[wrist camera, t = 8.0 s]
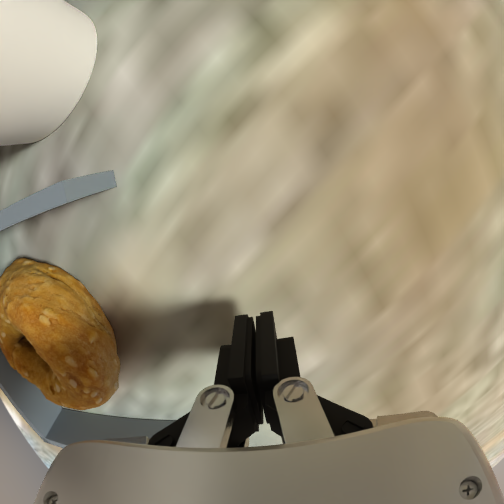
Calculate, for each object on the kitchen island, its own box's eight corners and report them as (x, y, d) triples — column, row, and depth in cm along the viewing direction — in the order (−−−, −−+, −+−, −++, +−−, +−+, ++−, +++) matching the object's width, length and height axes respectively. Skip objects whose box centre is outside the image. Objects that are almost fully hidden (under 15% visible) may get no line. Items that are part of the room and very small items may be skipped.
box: (-29, 234, 13) (-65, 252, 9) (112, 170, 12) (62, 180, 8) (61, 412, 18) (44, 441, 15) (207, 426, 17) (200, 471, 14)
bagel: (4, 226, 13) (-47, 251, 8) (143, 293, 14) (105, 349, 9) (13, 338, 16) (-18, 371, 11) (125, 401, 17) (104, 449, 13)
